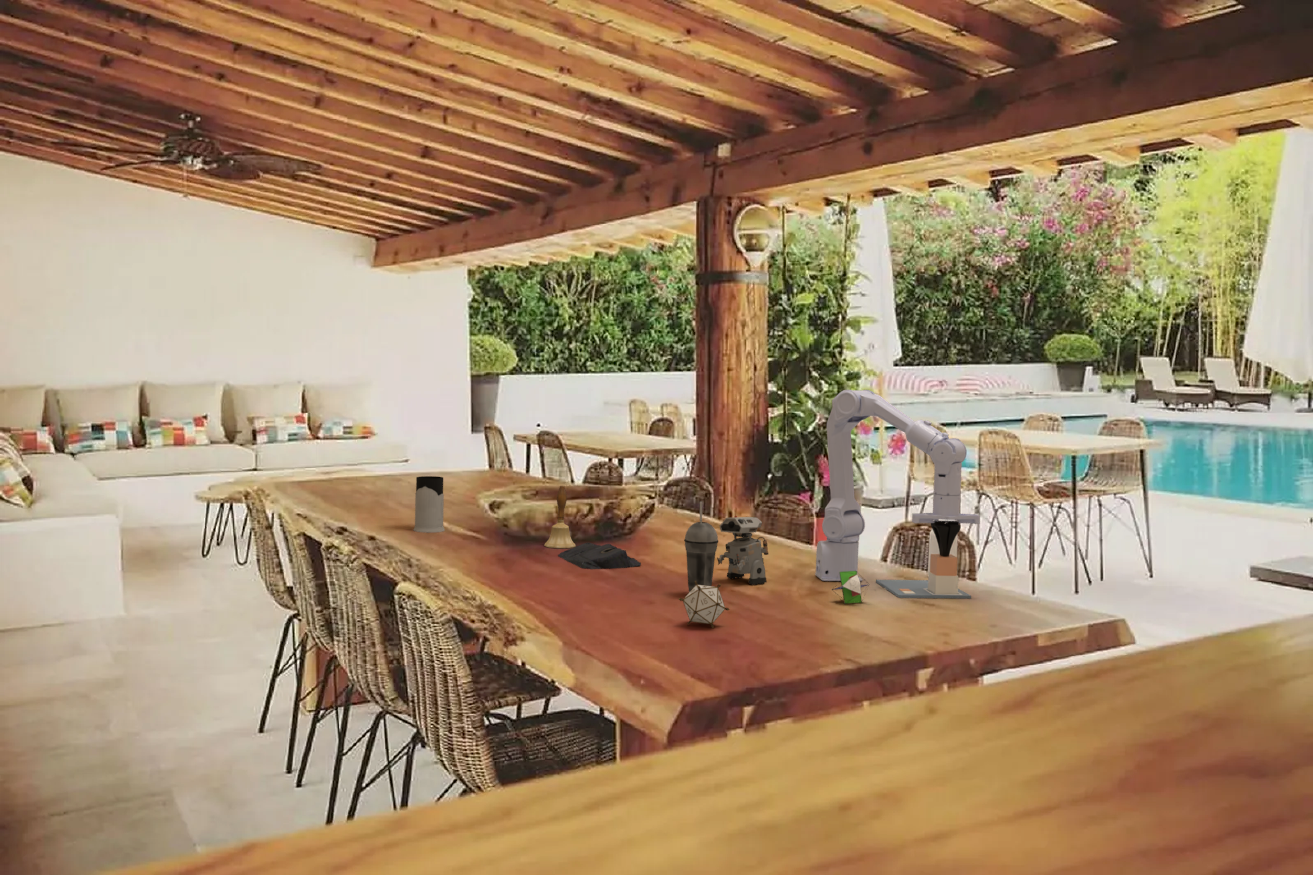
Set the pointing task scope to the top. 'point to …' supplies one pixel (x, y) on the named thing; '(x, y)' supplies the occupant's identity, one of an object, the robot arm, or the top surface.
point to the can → (935, 548)
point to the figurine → (744, 549)
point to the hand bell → (560, 525)
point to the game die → (704, 604)
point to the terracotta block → (943, 565)
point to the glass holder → (429, 504)
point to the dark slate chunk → (598, 557)
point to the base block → (942, 584)
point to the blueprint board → (916, 589)
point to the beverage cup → (700, 552)
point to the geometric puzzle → (850, 587)
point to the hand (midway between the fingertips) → (944, 556)
